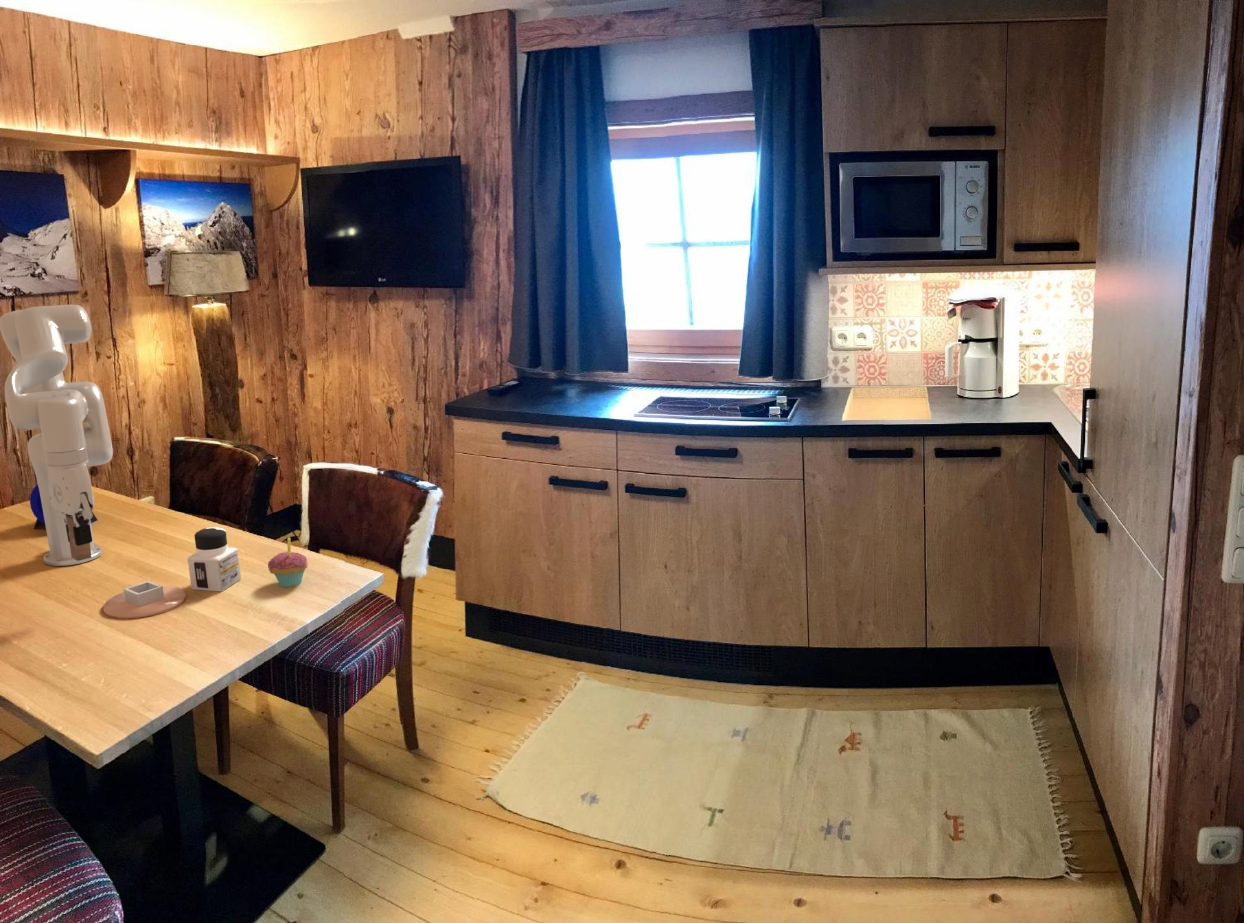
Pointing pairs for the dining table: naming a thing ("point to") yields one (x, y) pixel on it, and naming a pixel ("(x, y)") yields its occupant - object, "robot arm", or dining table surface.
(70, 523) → the wooden square post
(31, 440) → the robot arm
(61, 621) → the dining table surface
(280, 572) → the cupcake
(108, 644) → the dining table surface
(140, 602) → the clip base
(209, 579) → the container
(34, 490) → the alarm clock
